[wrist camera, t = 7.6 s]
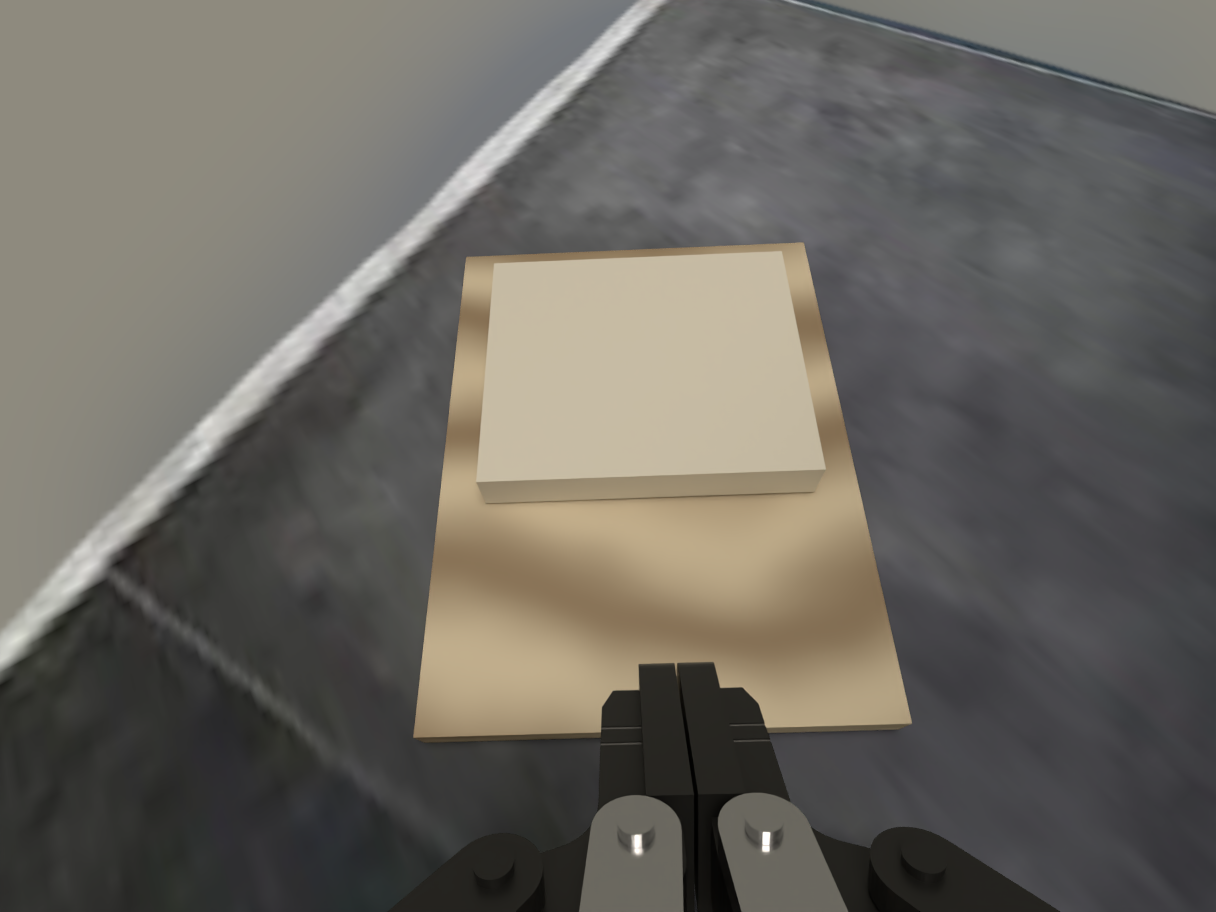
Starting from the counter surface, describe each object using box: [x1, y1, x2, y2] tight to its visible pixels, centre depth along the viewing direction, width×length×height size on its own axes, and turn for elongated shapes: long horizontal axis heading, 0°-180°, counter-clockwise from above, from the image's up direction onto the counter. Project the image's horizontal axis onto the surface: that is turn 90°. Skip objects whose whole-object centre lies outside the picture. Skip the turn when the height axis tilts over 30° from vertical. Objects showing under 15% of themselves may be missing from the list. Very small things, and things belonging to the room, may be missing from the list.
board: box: [413, 243, 912, 743], centre depth 31 cm, size 24×18×2 cm
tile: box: [476, 251, 826, 503], centre depth 31 cm, size 14×2×12 cm
